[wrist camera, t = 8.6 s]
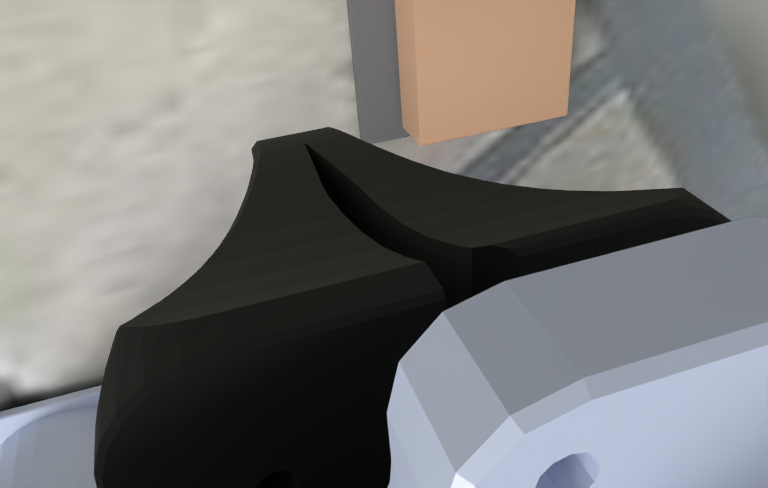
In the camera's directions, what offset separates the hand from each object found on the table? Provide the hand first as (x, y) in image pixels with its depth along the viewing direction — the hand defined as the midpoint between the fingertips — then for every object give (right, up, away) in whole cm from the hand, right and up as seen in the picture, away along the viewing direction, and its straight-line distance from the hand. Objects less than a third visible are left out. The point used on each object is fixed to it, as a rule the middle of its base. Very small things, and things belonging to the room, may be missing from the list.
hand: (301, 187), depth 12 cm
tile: (+2, +4, +9) cm, 10 cm away
